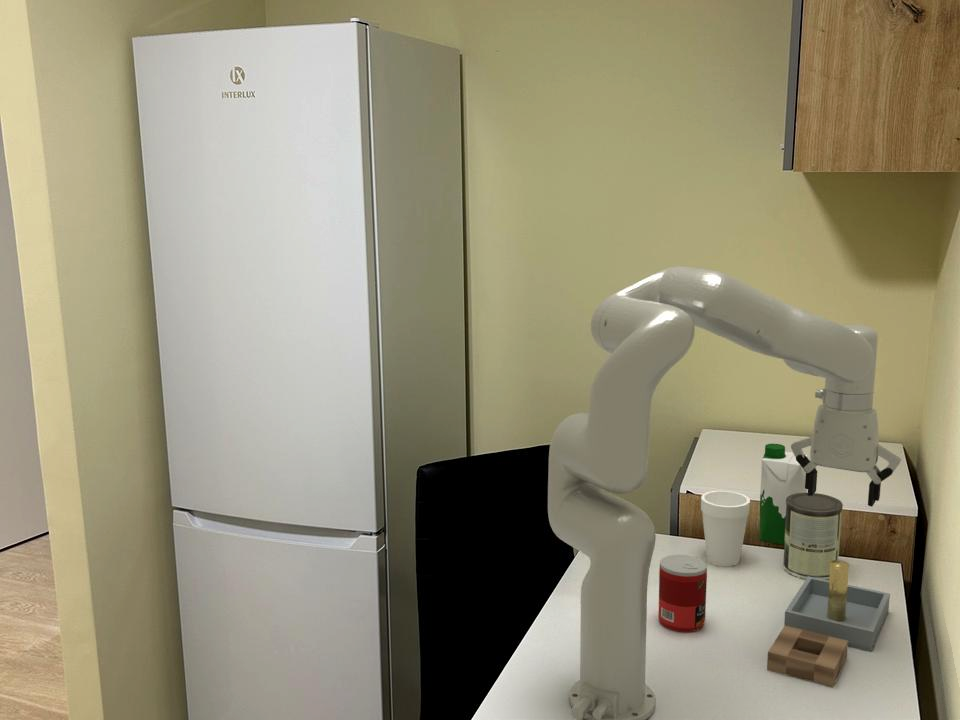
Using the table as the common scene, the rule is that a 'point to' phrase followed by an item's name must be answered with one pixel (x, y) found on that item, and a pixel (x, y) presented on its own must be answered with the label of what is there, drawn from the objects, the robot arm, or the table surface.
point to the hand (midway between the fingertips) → (841, 498)
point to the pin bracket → (808, 655)
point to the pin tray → (861, 613)
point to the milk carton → (778, 490)
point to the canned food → (682, 592)
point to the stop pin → (838, 590)
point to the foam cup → (724, 525)
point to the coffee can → (811, 534)
